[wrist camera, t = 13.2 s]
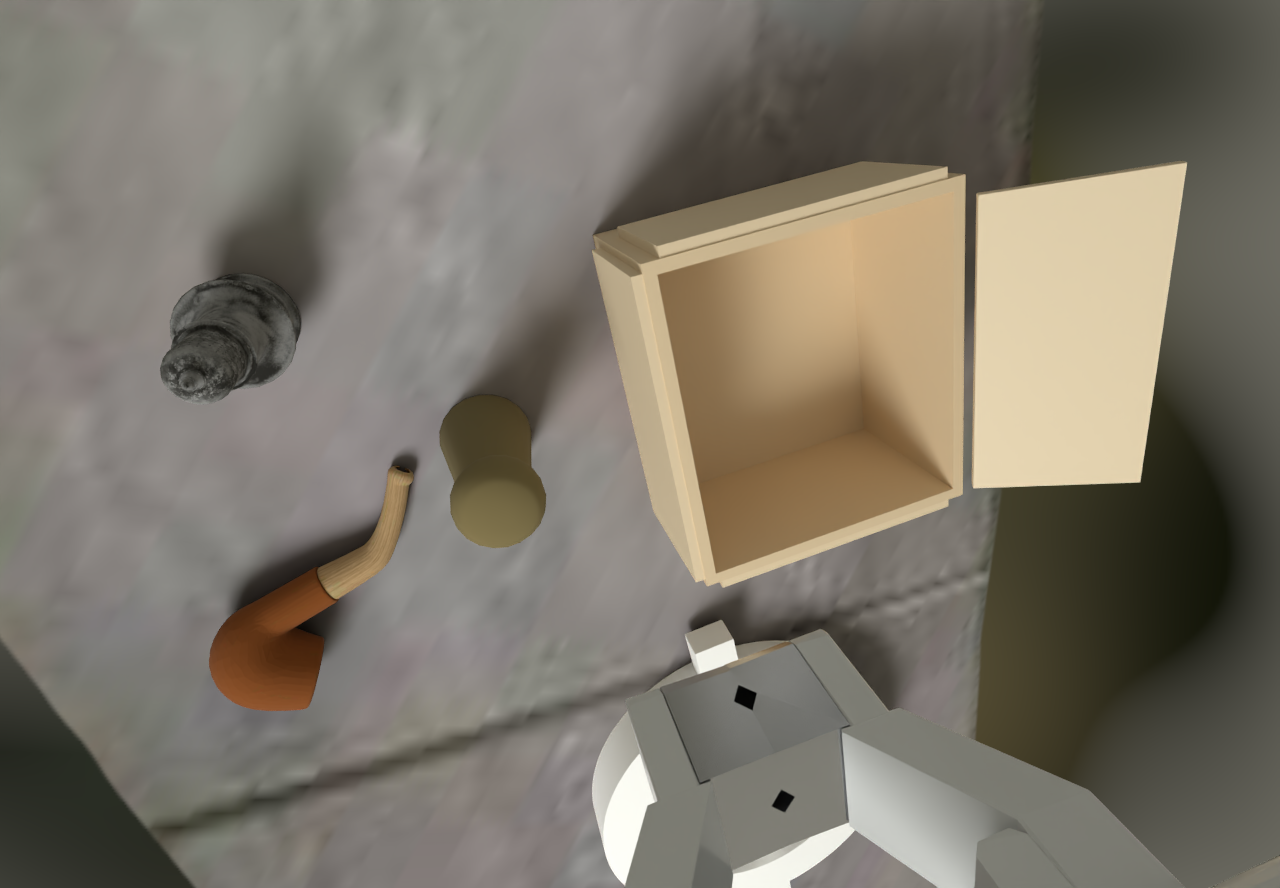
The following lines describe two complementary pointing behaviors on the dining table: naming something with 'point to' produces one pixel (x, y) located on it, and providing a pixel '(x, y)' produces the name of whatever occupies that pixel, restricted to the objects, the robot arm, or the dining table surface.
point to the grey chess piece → (229, 338)
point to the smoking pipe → (298, 620)
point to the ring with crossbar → (628, 793)
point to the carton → (794, 361)
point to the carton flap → (1070, 325)
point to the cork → (492, 471)
